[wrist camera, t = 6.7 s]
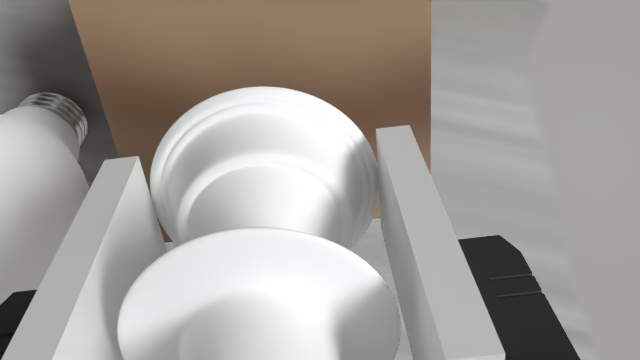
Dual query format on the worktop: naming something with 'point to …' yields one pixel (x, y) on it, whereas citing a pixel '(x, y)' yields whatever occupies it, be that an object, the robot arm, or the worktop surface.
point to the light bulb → (38, 186)
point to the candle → (262, 238)
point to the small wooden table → (256, 61)
